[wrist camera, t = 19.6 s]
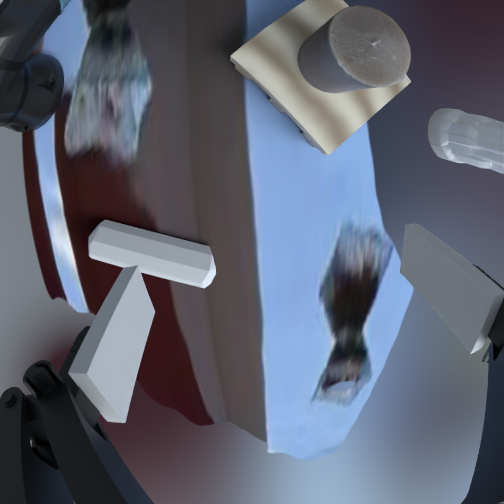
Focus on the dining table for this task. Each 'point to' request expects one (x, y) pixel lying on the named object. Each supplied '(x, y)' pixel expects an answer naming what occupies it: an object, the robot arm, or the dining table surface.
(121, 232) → the white octagonal bar
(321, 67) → the pillar candle
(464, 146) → the decorative vase
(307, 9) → the plate
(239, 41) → the dining table surface
